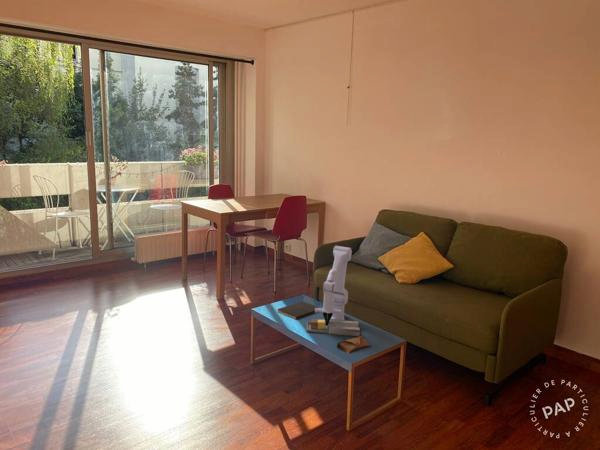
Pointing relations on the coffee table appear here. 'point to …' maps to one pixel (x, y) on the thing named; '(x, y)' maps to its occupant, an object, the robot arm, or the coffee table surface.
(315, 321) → the walnut cube
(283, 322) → the coffee table surface
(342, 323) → the channel
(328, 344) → the coffee table surface
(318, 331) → the tray
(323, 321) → the mustard cube
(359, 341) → the sunglasses case
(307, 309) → the hardcover book
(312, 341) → the coffee table surface
